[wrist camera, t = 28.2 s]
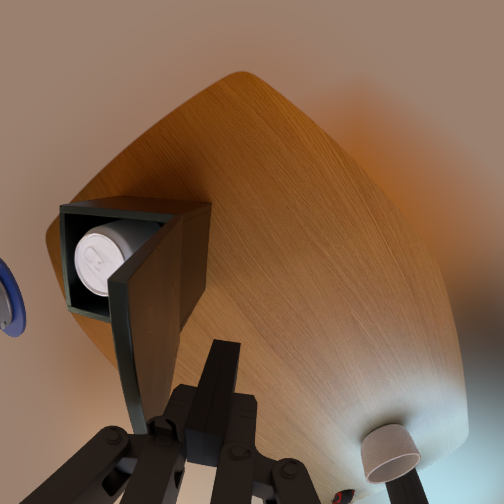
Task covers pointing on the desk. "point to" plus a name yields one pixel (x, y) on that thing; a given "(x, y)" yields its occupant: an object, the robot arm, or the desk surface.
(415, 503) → the vase
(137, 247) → the beverage can
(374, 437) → the planter
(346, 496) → the computer mouse
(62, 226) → the trash bin
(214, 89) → the desk surface
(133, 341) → the bin lid
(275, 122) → the desk surface
